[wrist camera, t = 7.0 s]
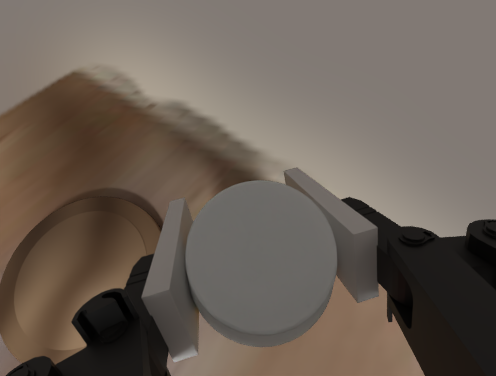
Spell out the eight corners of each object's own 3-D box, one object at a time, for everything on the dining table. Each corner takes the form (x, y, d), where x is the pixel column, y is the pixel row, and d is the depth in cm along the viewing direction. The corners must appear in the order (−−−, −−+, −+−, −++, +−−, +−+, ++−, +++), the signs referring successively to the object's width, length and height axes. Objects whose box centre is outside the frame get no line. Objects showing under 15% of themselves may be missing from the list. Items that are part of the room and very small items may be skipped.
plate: (-17, 369, 19) (-36, 375, 18) (41, 202, 25) (29, 198, 24) (158, 369, 19) (151, 374, 18) (177, 199, 24) (172, 194, 23)
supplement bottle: (320, 289, 15) (417, 283, 6) (245, 345, 14) (226, 440, 5) (269, 216, 17) (284, 130, 8) (199, 261, 16) (126, 220, 7)
